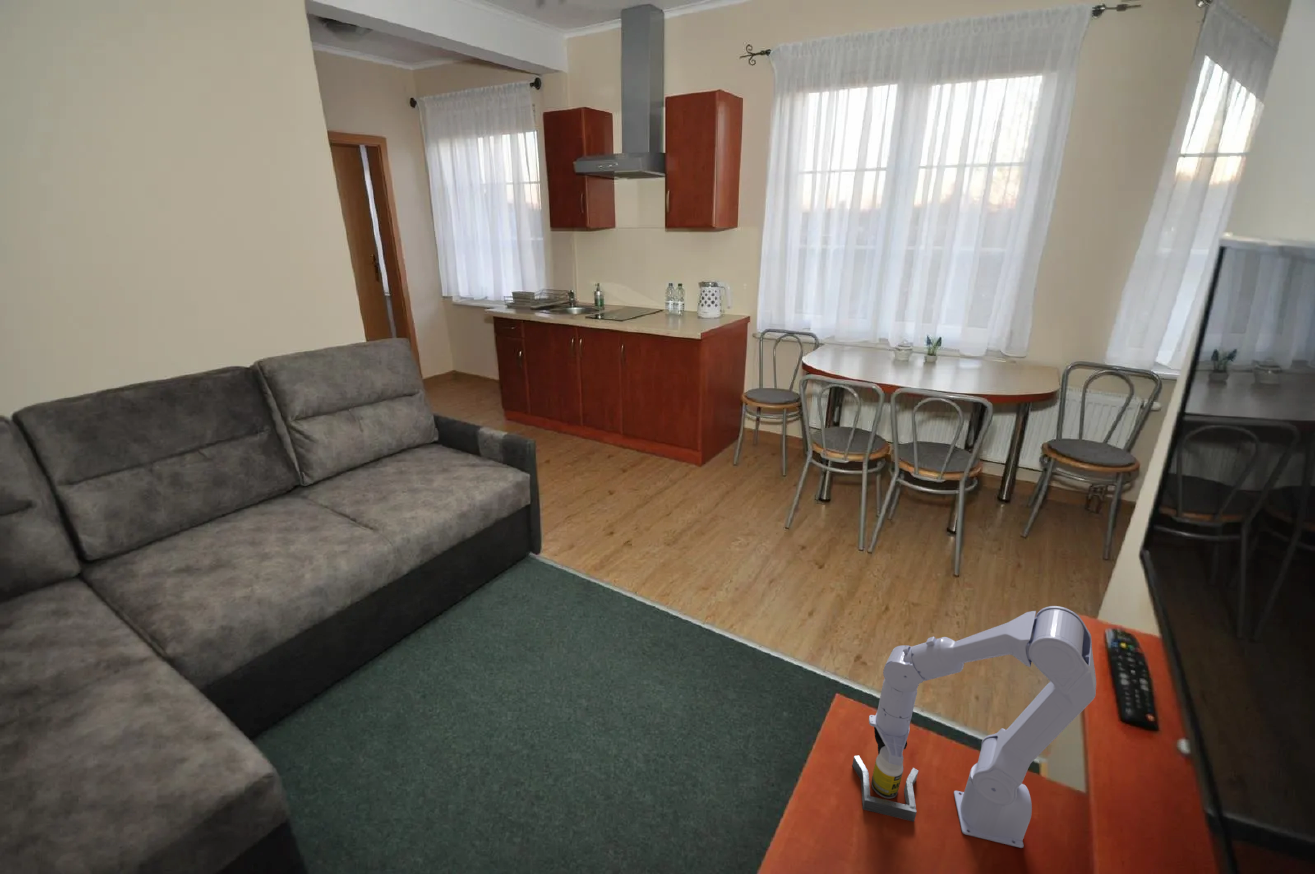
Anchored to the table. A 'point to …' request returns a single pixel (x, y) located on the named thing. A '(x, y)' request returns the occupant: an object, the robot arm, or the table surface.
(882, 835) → the table surface
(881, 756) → the supplement bottle
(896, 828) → the table surface
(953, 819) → the table surface
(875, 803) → the u holder
